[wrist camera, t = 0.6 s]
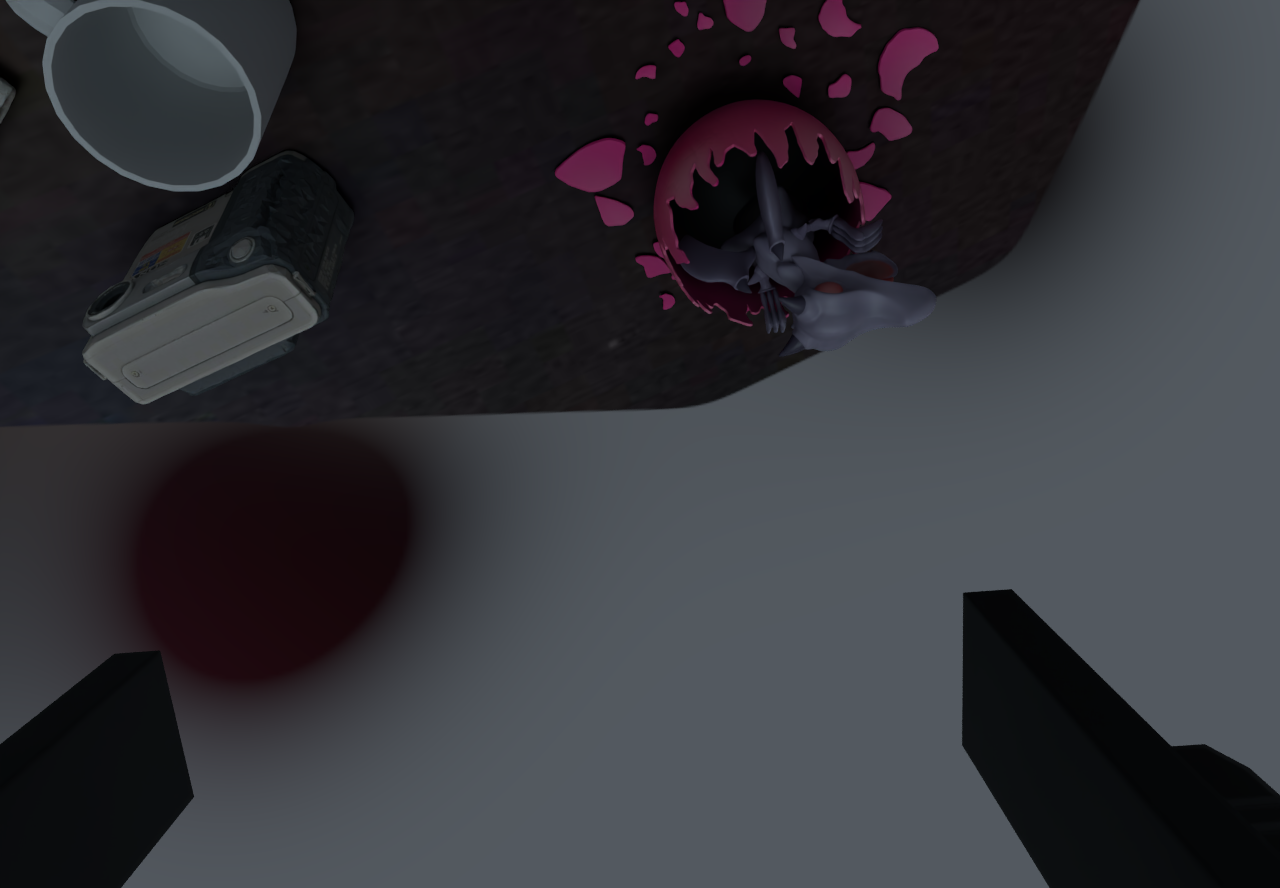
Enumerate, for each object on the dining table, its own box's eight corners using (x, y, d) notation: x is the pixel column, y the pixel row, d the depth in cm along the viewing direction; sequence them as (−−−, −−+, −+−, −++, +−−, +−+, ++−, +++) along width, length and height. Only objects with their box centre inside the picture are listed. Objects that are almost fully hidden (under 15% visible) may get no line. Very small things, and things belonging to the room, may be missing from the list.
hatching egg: (733, 346, 55) (780, 509, 46) (512, 217, 47) (516, 383, 38) (992, 93, 45) (1122, 236, 36) (769, -130, 37) (862, -20, 27)
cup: (257, 124, 42) (215, 224, 36) (22, -17, 36) (-75, 71, 30) (328, -1, 38) (295, 86, 32) (80, -177, 33) (-17, -114, 27)
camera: (305, 133, 42) (267, 247, 35) (374, 226, 46) (353, 345, 39) (117, 224, 45) (46, 347, 38) (199, 305, 49) (148, 431, 42)
